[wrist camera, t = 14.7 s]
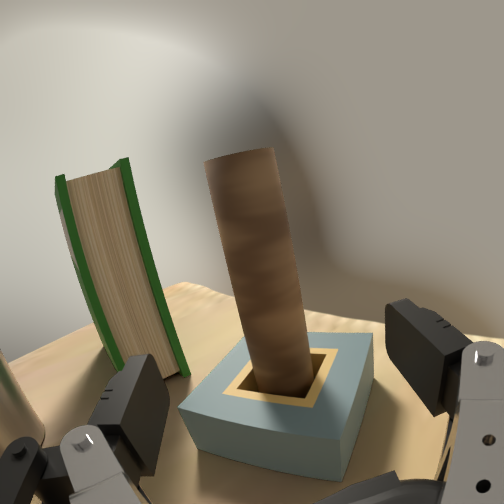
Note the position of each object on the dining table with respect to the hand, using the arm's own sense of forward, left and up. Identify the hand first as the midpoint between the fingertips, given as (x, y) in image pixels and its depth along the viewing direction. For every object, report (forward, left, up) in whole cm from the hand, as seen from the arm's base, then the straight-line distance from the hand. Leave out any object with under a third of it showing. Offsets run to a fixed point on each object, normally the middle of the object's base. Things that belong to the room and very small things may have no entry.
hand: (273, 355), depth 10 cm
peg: (-5, +10, -13) cm, 17 cm away
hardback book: (-28, +14, -14) cm, 35 cm away
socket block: (-5, +10, -14) cm, 18 cm away
